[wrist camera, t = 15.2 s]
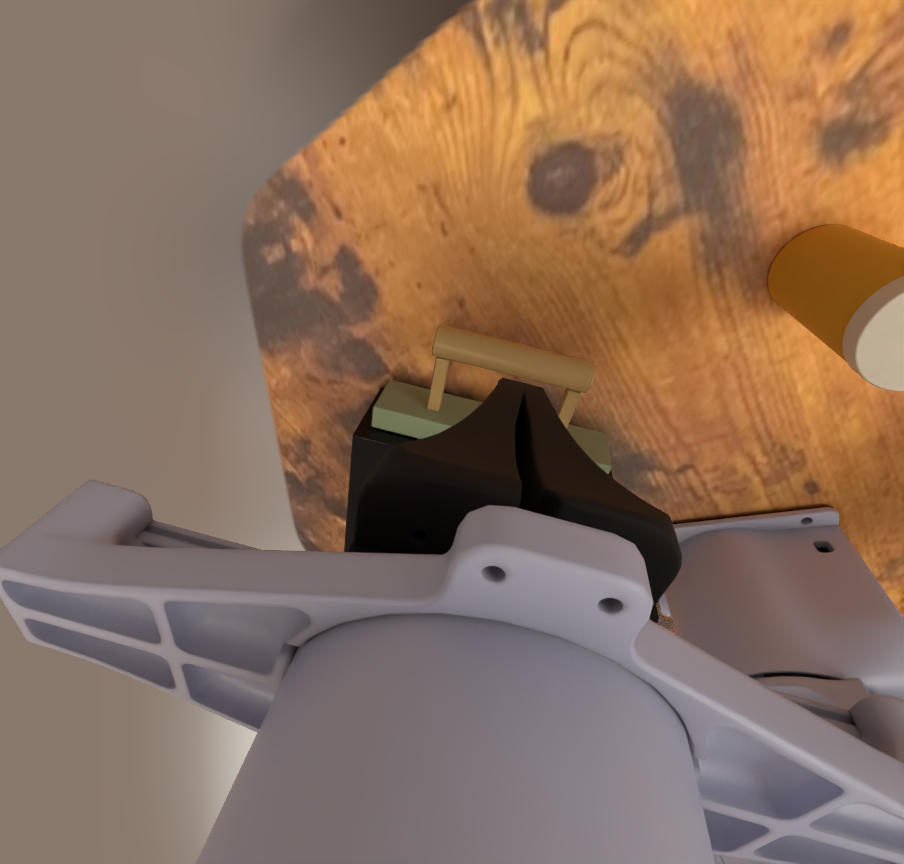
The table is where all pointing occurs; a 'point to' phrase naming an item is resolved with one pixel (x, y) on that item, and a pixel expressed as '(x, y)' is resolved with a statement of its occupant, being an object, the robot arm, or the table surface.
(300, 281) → the table surface
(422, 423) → the drawer
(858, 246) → the pill bottle
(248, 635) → the robot arm
